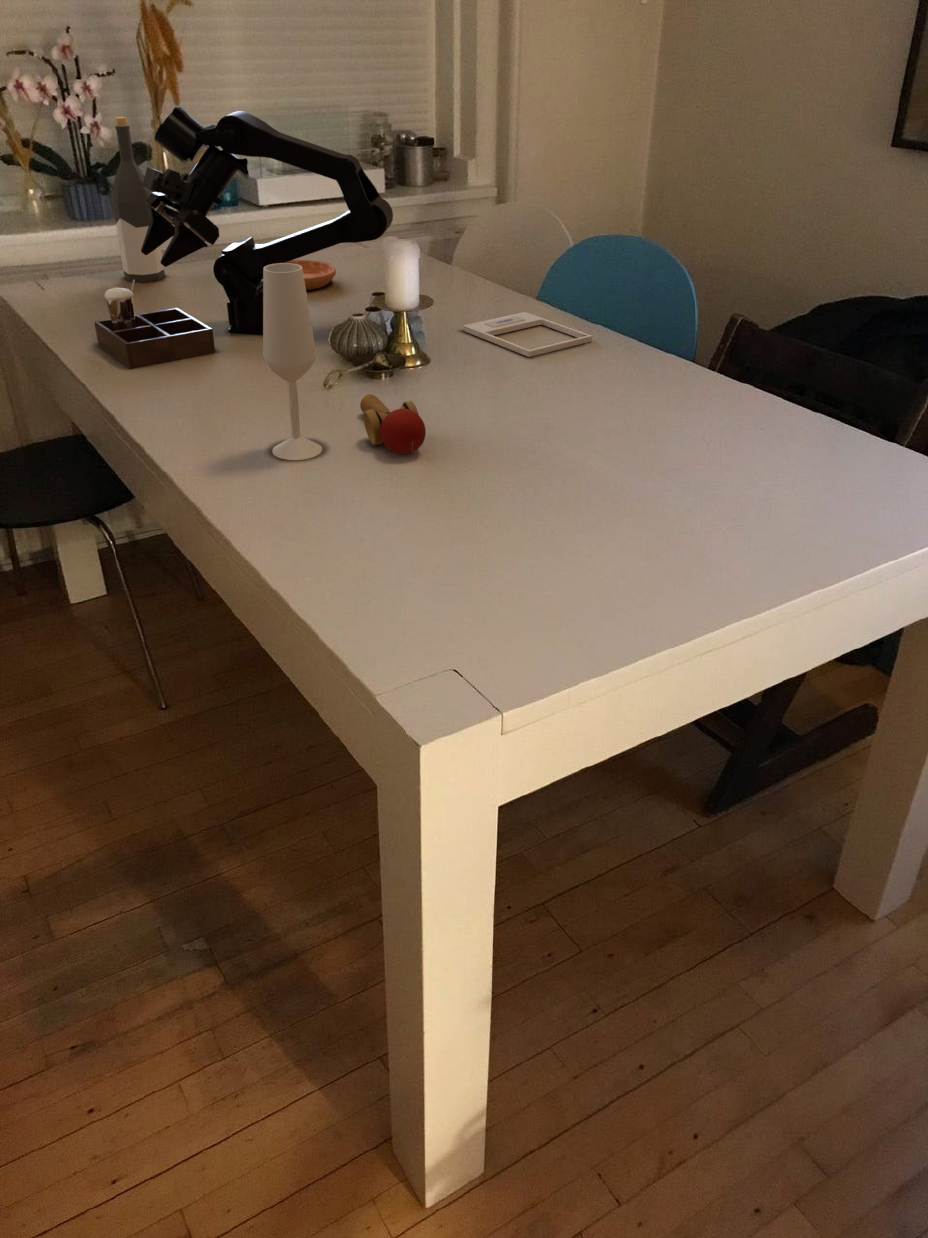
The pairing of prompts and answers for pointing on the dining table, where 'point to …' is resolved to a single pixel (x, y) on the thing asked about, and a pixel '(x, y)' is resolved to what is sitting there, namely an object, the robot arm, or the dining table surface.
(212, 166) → the robot arm
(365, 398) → the kendama
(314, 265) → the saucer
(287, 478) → the dining table surface
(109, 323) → the organiser
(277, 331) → the champagne flute
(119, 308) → the milkshake
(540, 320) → the photo frame
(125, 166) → the wine bottle
